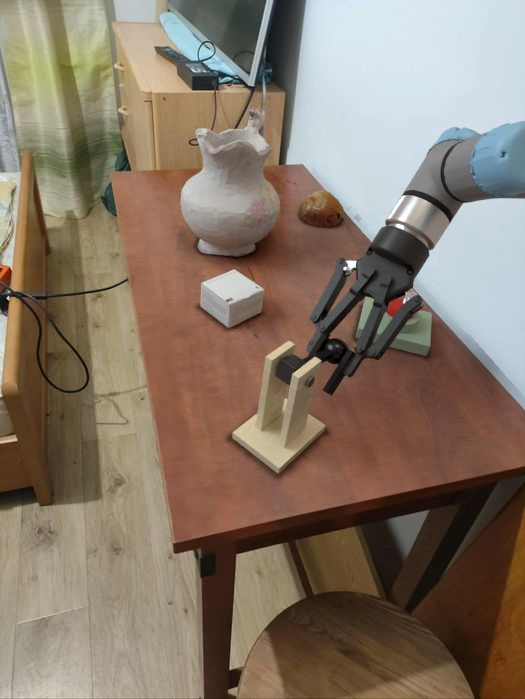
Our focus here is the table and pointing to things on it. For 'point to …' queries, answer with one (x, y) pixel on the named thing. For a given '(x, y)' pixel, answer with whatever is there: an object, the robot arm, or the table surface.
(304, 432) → the cream lever bracket
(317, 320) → the robot arm
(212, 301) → the small box
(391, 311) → the button
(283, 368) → the lever
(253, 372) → the table surface
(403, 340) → the button block
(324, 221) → the bread roll
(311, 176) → the table surface
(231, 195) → the ceramic pitcher
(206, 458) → the table surface
